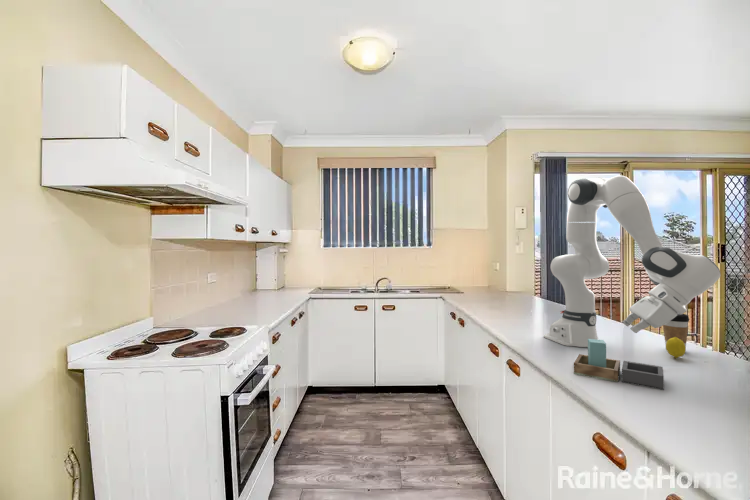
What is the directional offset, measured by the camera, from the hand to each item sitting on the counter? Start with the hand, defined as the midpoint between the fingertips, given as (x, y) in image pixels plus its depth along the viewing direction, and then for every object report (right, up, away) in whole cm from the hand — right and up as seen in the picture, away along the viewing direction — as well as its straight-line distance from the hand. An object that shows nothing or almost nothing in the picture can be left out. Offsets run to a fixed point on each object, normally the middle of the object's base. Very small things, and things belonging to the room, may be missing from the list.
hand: (628, 327), depth 111 cm
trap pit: (+2, -16, -4) cm, 16 cm away
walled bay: (-8, -16, +4) cm, 18 cm away
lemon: (+30, -15, +17) cm, 38 cm away
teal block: (-8, -15, +4) cm, 18 cm away
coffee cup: (+38, -15, +26) cm, 49 cm away
